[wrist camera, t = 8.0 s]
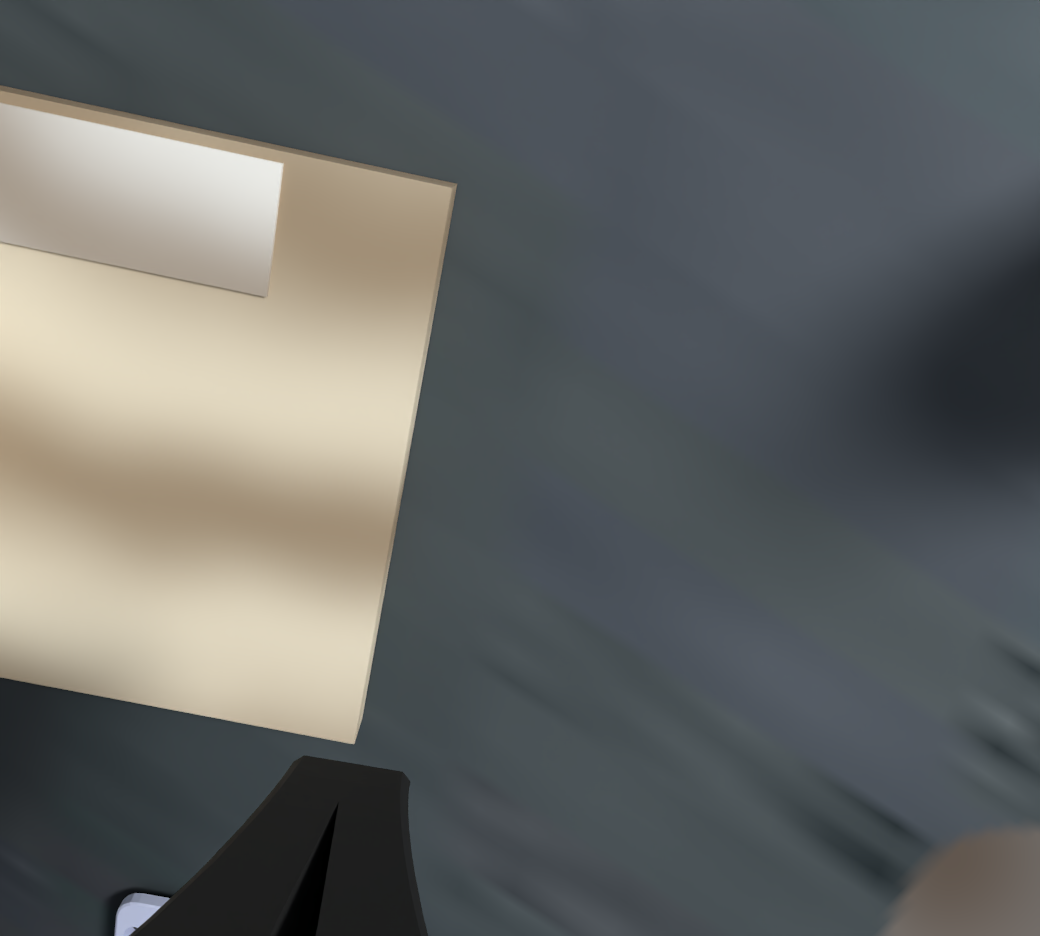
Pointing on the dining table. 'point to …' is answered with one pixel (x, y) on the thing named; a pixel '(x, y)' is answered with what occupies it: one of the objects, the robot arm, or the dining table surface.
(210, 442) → the bench
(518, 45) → the dining table surface
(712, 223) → the dining table surface
